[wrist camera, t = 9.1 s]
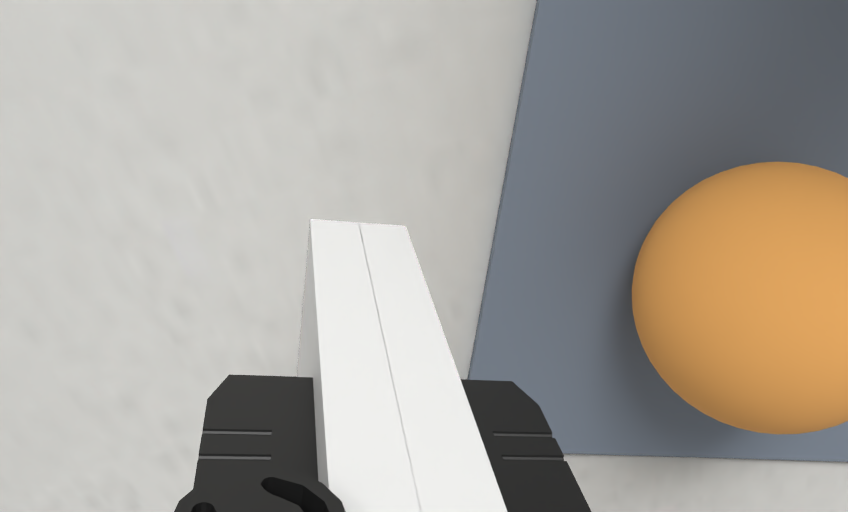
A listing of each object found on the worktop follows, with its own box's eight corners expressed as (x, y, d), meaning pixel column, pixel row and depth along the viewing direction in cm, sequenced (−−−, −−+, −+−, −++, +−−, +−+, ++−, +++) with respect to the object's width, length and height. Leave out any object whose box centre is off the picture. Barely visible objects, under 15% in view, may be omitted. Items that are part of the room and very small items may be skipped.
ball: (883, 413, 18) (653, 325, 21) (980, 183, 16) (711, 119, 19) (850, 537, 14) (565, 407, 16) (977, 245, 12) (628, 150, 14)
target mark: (455, 445, 20) (457, 450, 20) (548, -61, 16) (551, -61, 15) (874, 457, 22) (878, 462, 22) (1064, 15, 18) (1072, 17, 17)
